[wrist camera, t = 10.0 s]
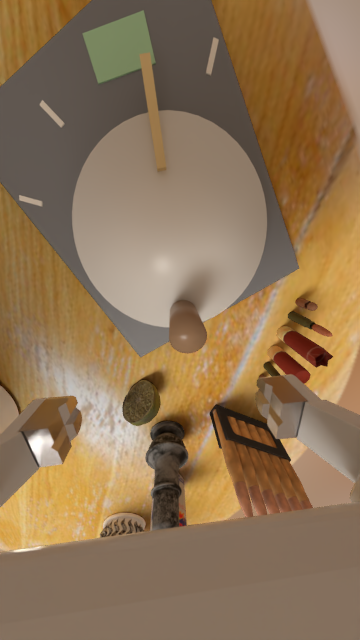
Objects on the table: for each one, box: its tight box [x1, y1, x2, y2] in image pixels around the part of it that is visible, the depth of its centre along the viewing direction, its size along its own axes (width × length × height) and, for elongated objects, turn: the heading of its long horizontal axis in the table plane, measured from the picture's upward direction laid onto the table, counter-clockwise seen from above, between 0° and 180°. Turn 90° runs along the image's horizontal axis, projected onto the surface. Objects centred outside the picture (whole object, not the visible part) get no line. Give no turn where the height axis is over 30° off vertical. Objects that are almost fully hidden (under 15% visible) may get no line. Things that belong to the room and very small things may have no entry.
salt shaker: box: [146, 421, 188, 530], centre depth 22 cm, size 6×6×12 cm
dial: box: [72, 52, 267, 353], centre depth 13 cm, size 20×17×6 cm
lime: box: [122, 380, 160, 426], centre depth 22 cm, size 4×5×5 cm
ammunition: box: [259, 298, 333, 384], centre depth 20 cm, size 12×2×6 cm, turn 166°
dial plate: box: [0, 0, 299, 357], centre depth 17 cm, size 20×24×1 cm
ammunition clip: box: [210, 405, 313, 517], centre depth 22 cm, size 11×2×12 cm, turn 62°
